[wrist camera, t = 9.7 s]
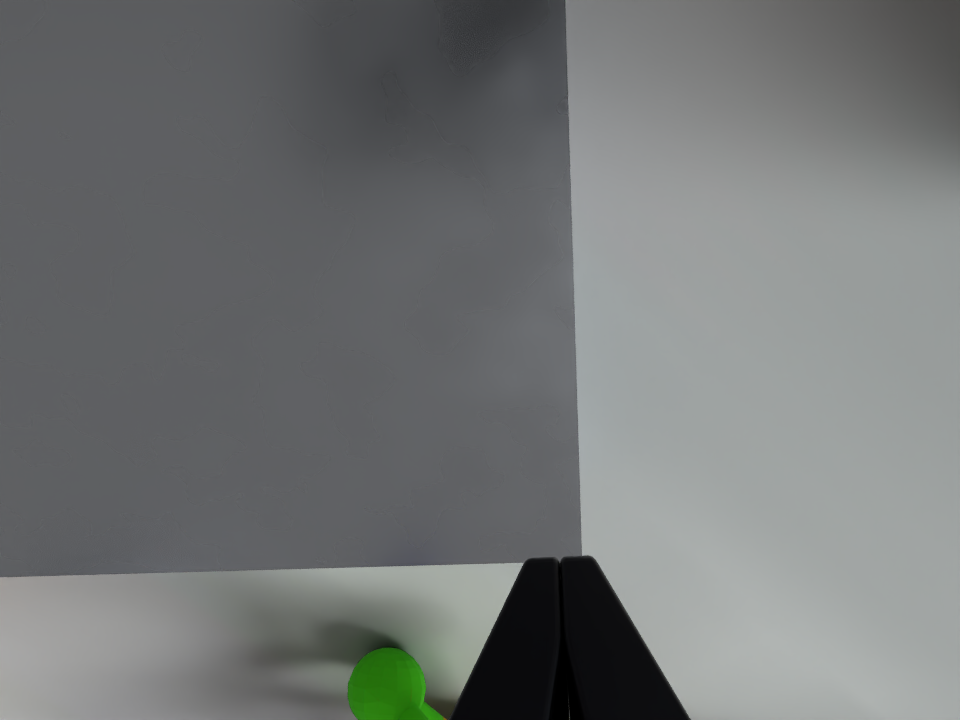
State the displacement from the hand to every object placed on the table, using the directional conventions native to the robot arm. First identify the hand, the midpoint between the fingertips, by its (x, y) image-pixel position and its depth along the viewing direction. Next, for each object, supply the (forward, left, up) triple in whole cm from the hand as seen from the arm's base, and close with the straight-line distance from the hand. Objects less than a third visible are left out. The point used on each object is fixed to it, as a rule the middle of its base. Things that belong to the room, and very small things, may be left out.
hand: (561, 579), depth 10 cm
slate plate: (+9, -4, -12) cm, 16 cm away
